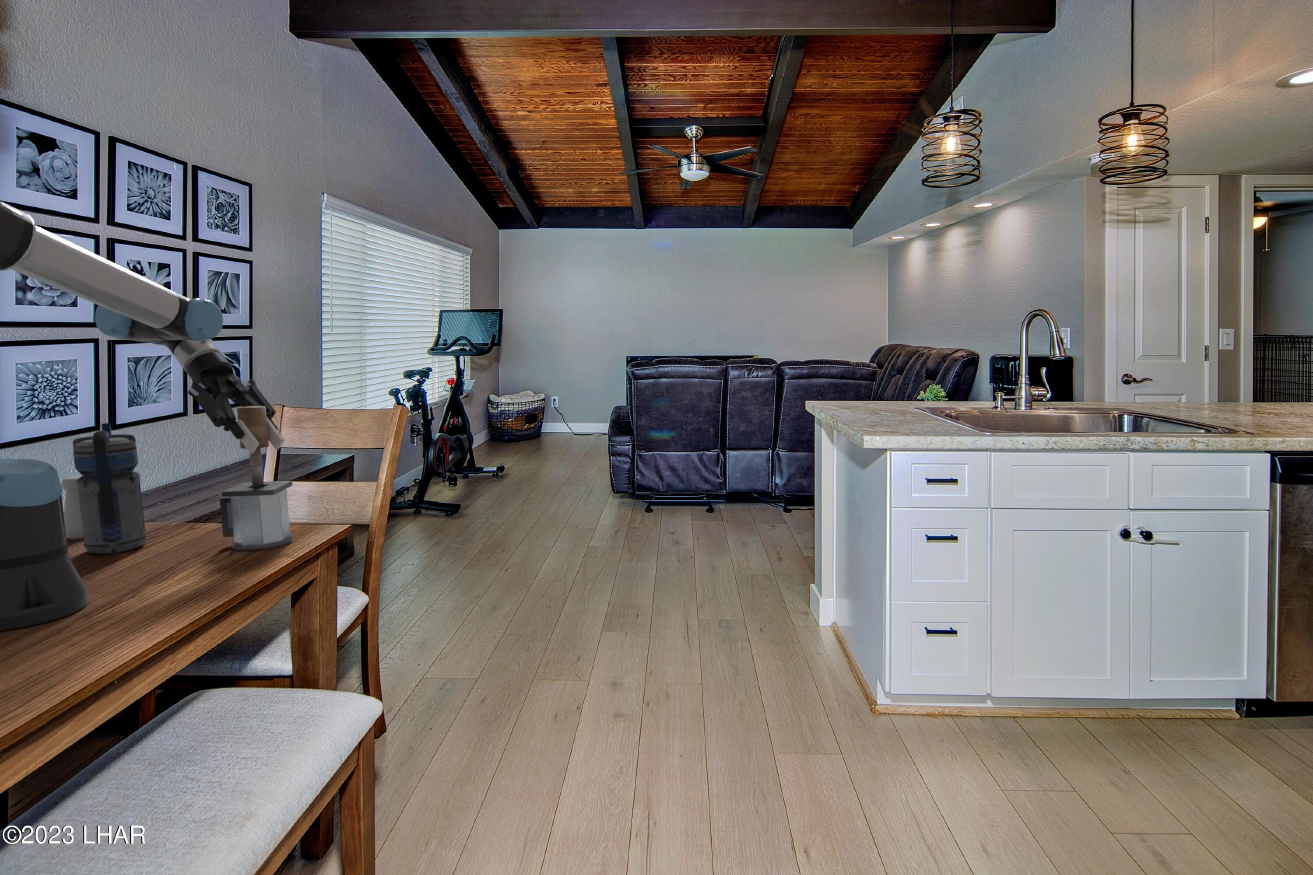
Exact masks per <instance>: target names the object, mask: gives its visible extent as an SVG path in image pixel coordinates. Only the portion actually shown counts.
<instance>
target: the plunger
mask: <svg viewBox="0 0 1313 875" xmlns="http://www.w3.org/2000/svg"><path fill="white" fill-rule="evenodd" d="M236 412H237V420H242V421H243V422H244V424H245V425H246V426H247V428H248V429H249V430H250V432H251V433H252V434H253V436H254V437H255V438H256V440H257V441H258V442H259V445H258V447H257V448H256V450H255V452H254V453H249V460H250V463H249V464H250V474H251V482H252V486H253V487H262V486H264V482H265V481H264V473H263V461H262V448H268V447H269V446H270V444H269V443H270V441H269V440H268V430H267V418H266V407H265V406H248V407H241V406H239V407H238V406H237V407H236ZM239 445H240V449H243V450H247V449H246V447H245V446H244V445H243V443H242V442H241V441H240V440H239Z"/></svg>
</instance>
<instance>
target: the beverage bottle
mask: <svg viewBox="0 0 1313 875" xmlns="http://www.w3.org/2000/svg"><path fill="white" fill-rule="evenodd" d="M136 443H137V441H136V437H135V435H134V434H124V433H123V434H119V433H118V434H117V433H116V434H113V433H112V427H111V423H110V422H108V423H107V422H106V423H105V422H104V423H101V430H97V431H95V432H94V433H93V434H92V436H83V437H77V438H75V439H73V442H72V449H73V450H72V451H73V452H72V455H73V462H74V469H75V470H76V471H77V472H78V473H79V474H80V476H81V477H80V478H78V479H77V480H76V482H77V490H78V494H79V503H80V511H81V519H82V528H83V536H84V538H83V546H84V549H85V550H86V551H87V552H88V553H91V554H97V555H109V554H118V553H124V552H127V551H128V552H129V551H132V550H135V549H137V548H140V547H142V546H143V545H144V544H145V543H146V541H147V530H146V528H145V527H146V526H145V525H146V524H145V517H144V510H143V500H142V490H141V489H142V488H141V481H142V480H141V473H139V472H137V471H135V469H136V468H137V465H138V464H139V456H138V455H139V454H138V447H137V444H136Z"/></svg>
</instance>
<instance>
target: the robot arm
mask: <svg viewBox="0 0 1313 875" xmlns="http://www.w3.org/2000/svg"><path fill="white" fill-rule="evenodd" d="M8 270H12V271H14V272H17V273H19V274H22V275H24V276H27V277H29V278H32V279H34V280H37V281H38V282H41V283H44V284H46V285H48V286H51V287H53V288H55V289H59V290H61V291H63V292H65V293H69V294H70V295H74V296H75V297H78V298H80V299H83V300H85V301H87V302H90V303H92V304H94V305H97V307H96V309H95V310H96V311H95V314H94V315H95V319H94V321H95V324H96V327H97V329H98V330H99V332H100V333H102V334H103V335H105V336H108V337H112V338H115V339H118V340H128V341H134V342H135V341H136V342H141V343H149V344H153V345H157V346H164V347H166V348H168V350H169V351H170V353H171V354H172V355H173V357H175V359H176V360H177V362H178V363H179V364H180V366H181V367H182V369H183V370H184V371H185V372H186V373H187V375H188V377H189V378H190V379H191V381H192V384H191V386H190V388H189V389H188V391H187V394H188V395H189V396H191V397H192V398H193V399H194V400H196V402H197V404H198V405H199V406H200V408H201V409H202V410H203V411H204V413H205V414H206V416H207V417H208V418H209V420H210V421H211V422H212V424H213V425H214V427H216V428H220V427H222V429H223V430H224V431H225V432H230V433H231V434H232V435H233V436H234V438H235V439H237V440H239V442H240V441H241V442H242V443H243V445H244V446H245V447H246V449H245V450H247V452H248V453H249V454H250V453H254V452H255V450H256V448H257V447H258V445H259V442H258V441H257V440H256V438H255V437H254V436H253V434H252V433H251V432H250V430H249V429H248V428H247V426H246V425H245V424H244V422H243V421H242V420H238V419H237V417H236V415H235V413H234V410H233V407H232V405H231V402H230V400H231V401H232V402H233V403H234V404H238V405H239V407H248V406H265V407H266V418H267V430H268V442H269V443H270V445H271V446H273V448H274V450H279V449H280V447H281V446H282V445H283V443H284V442H285V438H284V437H283V435H281V433H280V432H279V427H278V426H277V425H276V423H275V421H273V418H274V416H275V415H276V413H277V411H276V409H275V408H274V407H273V406H272V405H271V403H270V402H269V401H268V399H267V397H265V396H264V394H263V393H262V392H261V390H260V389H259V388H258V387H257V383H256V380H254V379H252V378H250V379H249V380H248V381H245V380H241V378H240V377H239V376H237V375H235V372H234V370H233V366H232V364H231V363H230V362H229V361H228V359H227V358H226V357H225V355H224V354H222V351H220V349H219V347H217V345H216V343H215V342H214V341H213V340H212V339H213V338H215V337H217V336H219V334H220V333H221V331H222V330H223V326H224V325H223V324H224V317H223V312H222V311H221V309H220V307H219V306H218V305H217V304H216V303H215V302H213V301H212V300H209V299H202V298H197V297H195V298H193V299H192V298H188V297H186V296H183V295H181V294H179V293H178V292H175V291H173V290H171V289H168V288H166V287H164V286H163V285H160V284H158V283H156V282H154V281H152V280H150V279H148V278H147V277H143V276H142V275H139V274H137V273H135V272H133V271H132V270H129V269H127V268H125V267H123V266H120V265H119V264H117V263H115V262H112V261H110V260H108V259H106V258H104V257H102V256H100V255H98V254H95V253H93V252H92V251H91V250H90V251H89V250H88V249H86V248H84V247H81V246H79V245H77V244H74V242H71V241H68V240H67V239H64V238H62V237H61V236H59V235H56V234H54V233H53V232H50V231H47V230H46V229H44V228H42V227H40V226H37V225H35V221H34V219H33V218H32V217H31V215H29V214H28V213H26V212H24V211H21V210H20V209H18V208H15V207H14V206H11V205H10V204H9V203H5V202H4V201H1V200H0V272H5V271H8ZM62 494H63V488H62V483H61V481H60V477H59V472H58V470H57V469H56V468H55V466H53V464H51V463H49V462H46V461H42V460H38V459H32V458H31V459H30V458H7V457H5V458H0V631H8V630H16V629H20V628H25V627H26V628H27V627H30V626H36V625H41V624H43V623H47V622H51V621H54V620H57V619H60V618H63V617H66V616H69V615H71V614H74V613H76V612H79V611H80V610H82V609H84V608H85V607H86V606H87V605H88V603H89V601H90V600H89V593H88V587H87V586H86V584H84V582H83V580H82V578H81V576H80V574H79V572H78V571H77V569H76V566H75V565H74V563H73V562H72V560H71V558H70V556H69V548H68V536H67V535H66V529H65V520H64V503H63V495H62Z"/></svg>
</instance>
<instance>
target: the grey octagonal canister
mask: <svg viewBox="0 0 1313 875" xmlns="http://www.w3.org/2000/svg"><path fill="white" fill-rule="evenodd" d="M263 482H264V486H262V487H253V486H252V481H244V482H242V483H239V484H236V485H234V486H232V487H229V488H227V489H225V490H223V491H221V496H222V497H220V498H219V507H220V516H221V527H222V537H223V538H233V540H232V542H231V548H233V549H235V550H234V551H236V550H238V551H237V552H246V551H249V552H261V551H260V550H262V551H266V550H265V549H269V550H273V549H272V548H274V549H278V547H279V548H281V547H282V548H283V547H285V546H288V545H290V544H291V542H292V541H293V542H294V536H293V533H291V528H290V517H289V516H290V514H289V502H288V491H287V489H289V488H291V487H292V486H293V480H277V481H276V480H275V481H271V480H270V481H263ZM293 542H292V543H293ZM233 549H232V550H233Z"/></svg>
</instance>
